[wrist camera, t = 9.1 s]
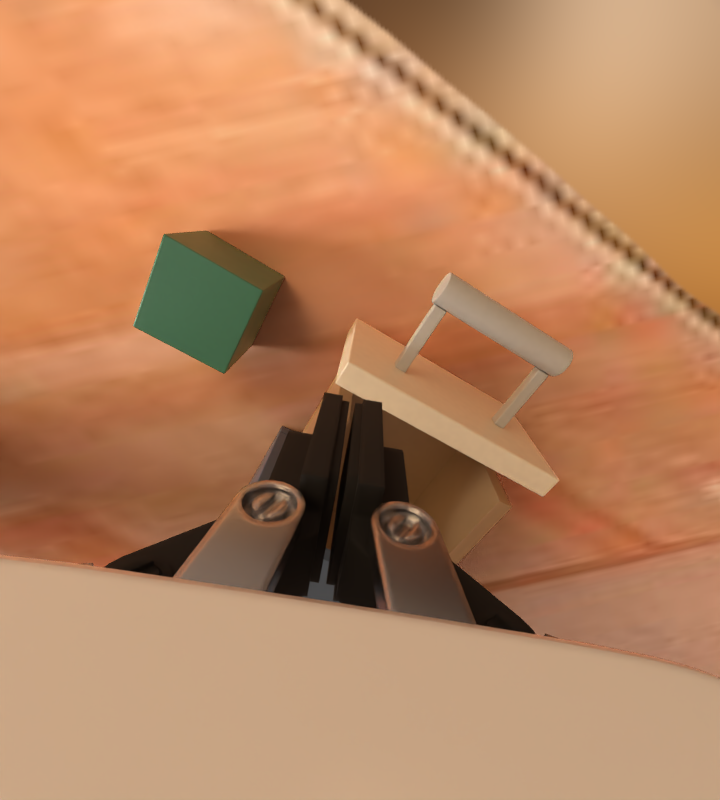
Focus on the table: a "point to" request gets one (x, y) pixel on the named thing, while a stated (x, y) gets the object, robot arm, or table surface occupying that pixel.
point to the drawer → (451, 414)
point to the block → (206, 298)
